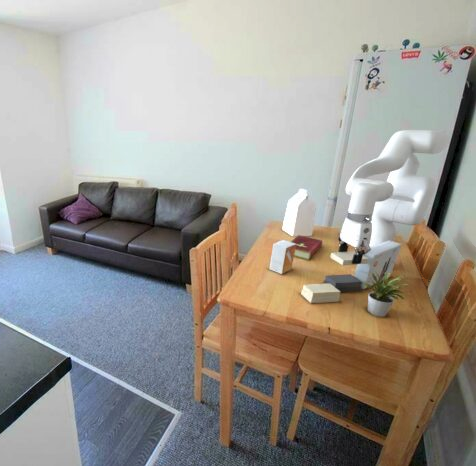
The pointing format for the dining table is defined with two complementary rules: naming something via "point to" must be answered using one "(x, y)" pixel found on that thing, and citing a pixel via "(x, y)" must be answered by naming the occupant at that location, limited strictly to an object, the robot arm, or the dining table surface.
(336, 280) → the grey book stack
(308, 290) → the cream book stack
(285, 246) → the small box
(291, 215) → the milk
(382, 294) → the house plant
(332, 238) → the dining table surface
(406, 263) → the dining table surface
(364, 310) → the dining table surface
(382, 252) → the skincare box
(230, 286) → the dining table surface
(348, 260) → the cream book
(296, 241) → the hardcover book
